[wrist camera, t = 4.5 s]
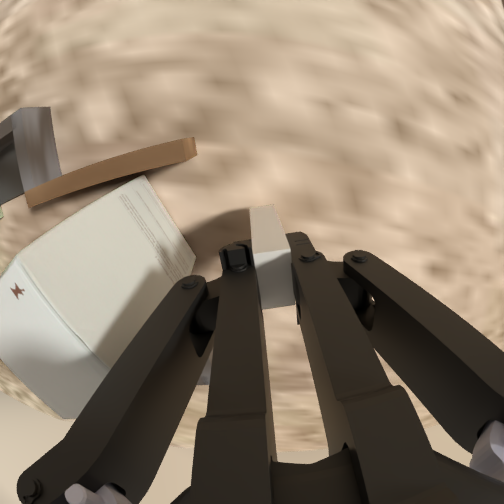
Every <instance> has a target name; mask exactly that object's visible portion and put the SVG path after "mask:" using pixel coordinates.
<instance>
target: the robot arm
mask: <svg viewBox="0 0 504 504" xmlns="http://www.w3.org/2000/svg"><path fill="white" fill-rule="evenodd" d="M250 223H251V238H252V239H251V240H244V241H238V242H233V243H232V244H229V245H227V246H225V247H223V248H222V249H220V251H219V255H220V260H221V264H222V269H223V272H222V276H221V277H220V278H218V279H216V280H213V281H210V282H207V283H206V280H205V278H204V277H202V276H199V275H190V276H186V277H183V278H182V279H180V280H178V281H177V282H176V283H175V284H174V286H173V287H172V288H171V289H170V291H169V292H168V293H167V295H166V296H165V297H164V298H163V300H162V301H161V302H160V304H159V305H158V306H157V307H156V309H155V310H154V311H153V313H152V314H151V315H150V317H149V318H148V319H147V321H146V322H145V323H144V325H143V326H142V327H141V329H140V330H139V331H138V333H137V334H136V335H135V337H134V338H133V339H132V341H131V342H130V343H129V345H128V346H127V347H126V349H125V350H124V352H123V353H122V354H121V356H120V357H119V358H118V360H117V361H116V363H115V364H114V365H113V367H112V368H111V370H110V371H109V372H108V374H107V375H106V377H105V378H104V379H103V381H102V382H101V384H100V385H99V387H98V388H97V389H96V391H95V392H94V394H93V395H92V397H91V398H90V400H89V401H88V403H87V404H86V405H85V407H84V408H83V410H82V411H81V413H80V414H79V416H78V417H77V419H76V420H75V422H74V423H73V425H72V426H71V428H70V430H69V431H68V433H67V434H66V436H65V437H64V439H63V440H61V441H60V442H59V443H58V444H57V445H56V446H54V447H53V448H52V449H51V450H49V451H48V452H47V453H46V454H45V455H43V456H42V457H41V458H40V459H39V460H37V461H36V462H35V463H34V464H32V465H31V466H30V467H29V468H28V469H26V470H25V471H24V472H23V473H22V474H21V475H20V477H19V479H18V482H17V494H18V497H19V500H20V501H21V503H22V504H139V503H140V501H141V500H142V498H143V497H144V496H145V494H146V493H147V491H148V489H149V487H150V486H151V484H152V482H153V480H154V478H155V476H156V474H157V471H158V469H159V467H160V465H161V462H162V460H163V458H164V456H165V454H166V451H167V449H168V447H169V445H170V443H171V440H172V438H173V436H174V434H175V432H176V429H177V427H178V425H179V423H180V420H181V418H182V416H183V414H184V411H185V409H186V407H187V405H188V403H189V400H190V398H191V396H192V394H193V391H194V389H195V387H196V385H197V382H198V380H199V378H200V376H201V374H202V371H203V369H204V367H205V365H206V362H207V360H208V358H209V356H210V353H211V351H212V349H213V355H212V365H211V374H210V384H209V394H208V404H207V413H206V416H205V417H204V418H200V420H199V421H198V424H197V429H196V437H195V447H194V457H193V467H192V479H191V486H190V487H188V488H187V489H186V490H184V491H183V492H182V493H181V494H180V495H179V496H178V497H177V498H176V499H175V500H174V501H173V502H171V503H170V504H504V352H503V351H502V350H501V349H499V348H498V347H497V346H496V345H495V344H493V343H492V342H491V341H490V340H489V339H487V338H486V337H485V336H484V335H483V334H481V333H480V332H479V331H478V330H476V329H475V328H474V327H473V326H471V325H470V324H469V323H468V322H466V321H465V320H464V319H463V318H461V317H460V316H459V315H457V314H456V313H455V312H454V311H452V310H451V309H450V308H448V307H447V306H446V305H444V304H443V303H442V302H440V301H439V300H438V299H436V298H435V297H434V296H432V295H431V294H429V293H428V292H427V291H425V290H424V289H423V288H421V287H420V286H418V285H417V284H415V283H414V282H413V281H411V280H410V279H408V278H407V277H406V276H404V275H403V274H401V273H400V272H398V271H397V270H395V269H394V268H392V267H391V266H390V265H388V264H387V263H385V262H384V261H382V260H381V259H379V258H378V257H376V256H375V255H373V254H371V253H369V252H366V251H363V250H359V251H358V250H355V251H351V252H348V253H346V254H345V255H344V257H343V262H332V261H327V260H326V258H325V256H324V255H323V254H322V253H320V252H318V251H315V249H314V247H313V245H312V243H311V242H310V240H309V238H308V236H307V235H306V234H304V233H302V232H295V233H288V234H285V233H284V230H283V227H282V225H281V222H280V219H279V217H278V214H277V211H276V209H275V206H274V204H273V205H266V206H259V207H253V208H250ZM372 297H373V299H374V301H375V302H374V301H373V300H372ZM295 300H296V310H297V325H299V324H300V327H301V331H302V334H303V338H304V343H305V347H306V351H307V355H308V359H309V363H310V367H311V371H312V375H313V380H314V384H315V388H316V392H317V397H318V401H319V405H320V410H321V414H322V419H323V423H324V428H325V432H326V437H327V442H328V449H329V457H327V458H325V459H322V460H320V461H318V462H316V463H313V464H294V463H282V462H278V461H277V453H276V443H275V433H274V422H273V412H272V401H271V391H270V381H269V371H268V360H267V350H266V340H265V330H264V320H263V313H262V310H263V309H270V308H277V307H283V306H290V305H295ZM374 349H375V350H376V351H377V352H378V353H379V354H380V356H381V357H382V358H383V359H384V360H385V361H386V362H387V364H388V365H389V366H390V367H391V368H392V369H393V370H394V371H395V373H396V374H397V375H398V376H399V377H400V378H401V379H402V381H403V382H404V383H405V384H406V385H407V386H408V387H409V389H410V390H411V391H412V392H413V393H414V394H415V396H416V397H417V398H418V399H419V400H420V401H421V403H422V404H423V405H424V406H425V407H426V408H427V410H428V411H429V412H430V413H431V414H432V415H433V417H434V418H435V419H436V420H437V421H438V423H439V424H440V425H441V426H442V427H443V429H444V430H445V431H446V432H447V433H448V434H449V435H450V436H451V437H452V439H453V440H454V441H455V442H457V443H458V444H459V445H460V446H461V447H462V448H464V449H465V450H466V451H468V452H470V453H471V454H473V455H472V459H471V461H470V468H469V467H467V466H465V465H463V464H461V463H459V462H456V461H454V460H452V459H450V458H448V457H446V456H444V455H442V454H440V453H438V452H436V451H434V450H432V448H431V445H430V443H429V440H428V438H427V435H426V433H425V431H424V428H423V426H422V424H421V422H420V419H419V417H418V415H417V413H416V410H415V408H414V406H413V404H412V402H411V400H410V398H409V395H408V394H407V392H406V390H405V389H404V388H403V387H402V386H400V385H396V386H393V385H391V383H390V382H389V380H388V378H387V375H386V373H385V371H384V369H383V367H382V365H381V363H380V361H379V359H378V356H377V354H376V352H375V350H374Z"/></svg>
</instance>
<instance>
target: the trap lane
mask: <svg viewBox="0 0 504 504" xmlns="http://www.w3.org/2000/svg"><path fill="white" fill-rule="evenodd" d="M196 155H197V151H196V145H195V139H194V137H192V138H185V139H180V140H175V141H171V142H167V143H163V144H159V145H155V146H151V147H147V148H144V149H140V150H136V151H133V152H130V153H126V154H123V155H120V156H116V157H113V158H110V159H107V160H104V161H101V162H98V163H95V164H92V165H89V166H86V167H84V168H81V169H78V170H76V171H73V172H70V173H68V174H65V175H63V176H62V174H61V169H60V165H59V160H58V155H57V150H56V144H55V138H54V132H53V126H52V118H51V110H50V107H27V108H20V109H19V110H17V111H16V112H14V113H13V114H12V115H10V116H9V117H8V118H6V119H5V120H4V121H2V122H1V123H0V205H1V204H3V203H5V202H6V201H8V200H10V199H12V198H14V197H16V196H19V195H21V194H23V193H25V197H26V200H27V204H28V207H29V208H31V207H33V206H36V205H38V204H41V203H43V202H46V201H49V200H51V199H54V198H57V197H60V196H62V195H65V194H68V193H71V192H74V191H77V190H80V189H83V188H86V187H89V186H92V185H95V184H99V183H102V182H105V181H108V180H112V179H115V178H119V177H122V176H126V175H130V174H133V173H137V172H141V171H145V170H149V169H153V168H157V167H161V166H166V165H170V164H175V163H179V162H184V161H187V160H189V159H191V158H193V157H195V156H196ZM2 217H4V216H3V213H2V209H1V206H0V218H2ZM212 355H213V349H212V351H211V353H210V356H209V358H208V360H207V362H206V365H205V367H204V369H203V371H202V374H201V376H200V378H199V380H198V382H197V385H209V384H210V374H211V365H212Z"/></svg>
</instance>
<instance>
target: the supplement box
mask: <svg viewBox="0 0 504 504" xmlns="http://www.w3.org/2000/svg"><path fill="white" fill-rule="evenodd" d="M195 260H196V256H195V254H194V253H193V251H192V250H191V248H190V247H189V245H188V243H187V242H186V240H185V239H184V237H183V236H182V234H181V233H180V231H179V230H178V228H177V226H176V225H175V223H174V222H173V220H172V219H171V217H170V215H169V214H168V212H167V211H166V209H165V208H164V206H163V204H162V203H161V201H160V200H159V198H158V196H157V195H156V193H155V191H154V190H153V188H152V187H151V185H150V183H149V182H148V180H147V178H146V177H145V175H141V176H139V177H137V178H135V179H133V180H131V181H130V182H128V183H126V184H124V185H122V186H120V187H119V188H117V189H115V190H113V191H111V192H110V193H108V194H106V195H104V196H103V197H101V198H99V199H97V200H96V201H94V202H92V203H91V204H89V205H87V206H86V207H84V208H83V209H81V210H79V211H78V212H76V213H75V214H73V215H72V216H70V217H68V218H67V219H65V220H64V221H62V222H61V223H59V224H58V225H56V226H55V227H53V228H52V229H50V230H49V231H47V232H46V233H45V234H43V235H42V236H40V237H39V238H38V239H36V240H35V241H34V242H32V243H31V244H29V245H28V246H27V247H25V248H24V249H22V250H21V251H20V252H19V253H18V254H17V255H16V256H15V257H14V258H13V260H12V261H11V262H10V263H9V265H8V266H7V267H6V269H5V270H4V271H3V273H2V274H1V276H0V359H1V360H2V361H3V362H4V363H5V365H6V366H7V367H8V368H9V369H10V370H11V371H12V372H13V373H14V374H15V375H16V376H17V377H18V378H19V379H20V380H21V381H22V382H23V383H24V384H25V385H26V386H27V387H28V388H29V389H30V390H31V391H32V392H33V393H34V394H35V395H36V396H37V397H38V398H39V399H41V400H42V401H43V402H44V403H45V404H46V405H47V406H49V407H50V408H51V409H52V410H53V411H54V412H56V413H57V414H58V415H59V416H60V417H62V418H63V419H77V417H78V416H79V414H80V413H81V411H82V410H83V408H84V407H85V405H86V404H87V403H88V401H89V400H90V398H91V397H92V395H93V394H94V392H95V391H96V389H97V388H98V387H99V385H100V384H101V382H102V381H103V379H104V378H105V377H106V375H107V374H108V372H109V371H110V370H111V368H112V367H113V365H114V364H115V363H116V361H117V360H118V358H119V357H120V356H121V354H122V353H123V352H124V350H125V349H126V347H127V346H128V345H129V343H130V342H131V341H132V339H133V338H134V337H135V335H136V334H137V333H138V331H139V330H140V329H141V327H142V326H143V325H144V323H145V322H146V321H147V319H148V318H149V317H150V315H151V314H152V313H153V311H154V310H155V309H156V307H157V306H158V305H159V304H160V302H161V301H162V300H163V298H164V297H165V296H166V295H167V293H168V292H169V291H170V289H171V288H172V287H173V286H174V284H175V283H176V282H177V281H178V280H180V279H182V278H183V277H186V276H190V275H191V272H192V269H193V266H194V263H195Z"/></svg>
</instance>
